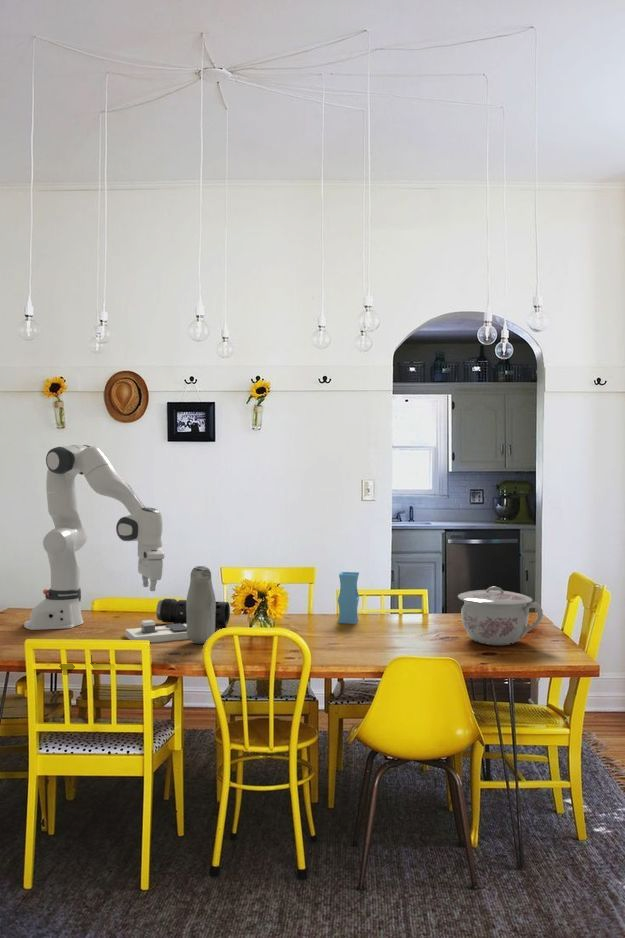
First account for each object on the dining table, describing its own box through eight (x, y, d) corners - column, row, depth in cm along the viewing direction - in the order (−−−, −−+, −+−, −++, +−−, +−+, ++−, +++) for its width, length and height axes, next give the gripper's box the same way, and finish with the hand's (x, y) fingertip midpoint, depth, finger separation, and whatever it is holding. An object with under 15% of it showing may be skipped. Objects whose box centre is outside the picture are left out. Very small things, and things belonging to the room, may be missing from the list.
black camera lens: (223, 629, 318) (224, 603, 318) (155, 626, 322) (155, 600, 322) (230, 624, 328) (230, 599, 327) (163, 621, 332) (163, 596, 331)
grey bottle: (220, 642, 297) (220, 565, 296) (201, 647, 288) (202, 569, 287) (199, 638, 302) (200, 563, 301) (180, 644, 293) (181, 566, 293)
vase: (356, 623, 332) (357, 575, 331) (337, 623, 333) (338, 574, 332) (358, 620, 339) (359, 572, 339) (339, 619, 341) (340, 571, 340)
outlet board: (134, 644, 292) (135, 634, 292) (125, 635, 305) (125, 627, 305) (198, 638, 303) (198, 629, 303) (187, 630, 316) (187, 621, 315)
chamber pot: (443, 636, 312) (444, 582, 311) (504, 631, 321) (505, 579, 321) (483, 653, 285) (484, 594, 285) (548, 647, 295) (549, 591, 295)
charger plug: (144, 639, 299) (144, 622, 299) (141, 636, 302) (141, 620, 302) (154, 638, 301) (155, 621, 301) (151, 635, 304) (152, 619, 304)
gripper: (134, 548, 309) (133, 584, 309) (148, 555, 291) (147, 593, 291) (150, 548, 312) (149, 583, 312) (165, 554, 293) (165, 592, 294)
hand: (149, 588), depth 301 cm, fingers open, 8 cm apart
